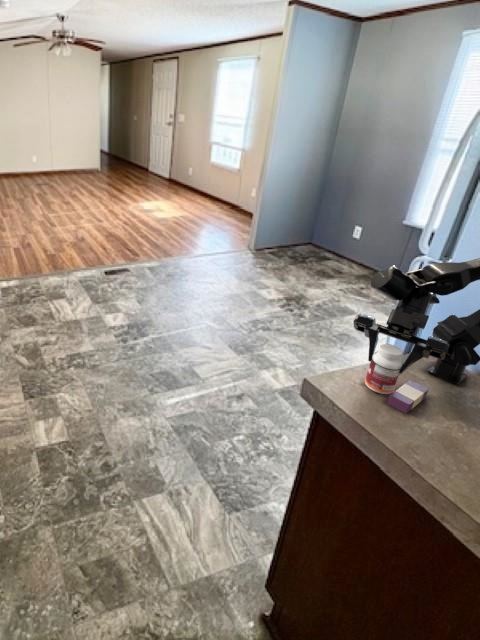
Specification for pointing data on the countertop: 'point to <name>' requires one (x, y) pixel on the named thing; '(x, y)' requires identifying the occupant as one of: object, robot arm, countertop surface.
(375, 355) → the pill bottle
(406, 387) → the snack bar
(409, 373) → the countertop surface
